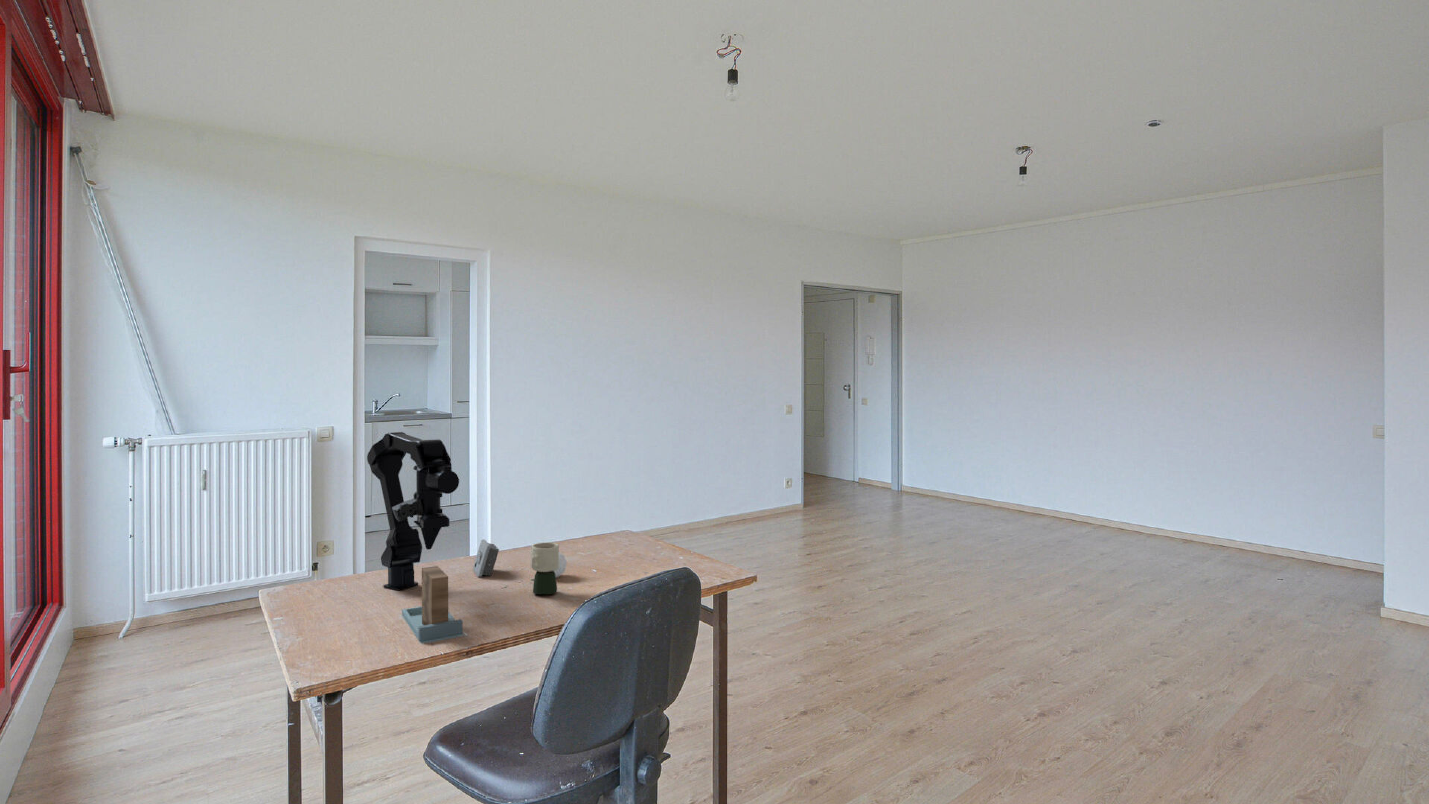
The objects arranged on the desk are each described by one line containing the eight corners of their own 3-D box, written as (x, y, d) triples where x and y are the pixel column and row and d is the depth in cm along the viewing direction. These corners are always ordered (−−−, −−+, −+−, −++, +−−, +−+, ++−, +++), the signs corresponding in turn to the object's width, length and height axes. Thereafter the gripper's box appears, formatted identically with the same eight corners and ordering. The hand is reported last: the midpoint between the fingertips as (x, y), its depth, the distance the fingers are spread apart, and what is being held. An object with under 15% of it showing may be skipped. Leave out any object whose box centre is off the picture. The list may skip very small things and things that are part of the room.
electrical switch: (472, 570, 215) (475, 538, 215) (490, 569, 218) (493, 538, 218) (478, 578, 207) (481, 545, 207) (496, 578, 209) (500, 545, 209)
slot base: (401, 617, 174) (401, 602, 173) (441, 611, 179) (441, 596, 178) (420, 646, 156) (420, 629, 156) (463, 638, 161) (463, 622, 161)
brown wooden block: (421, 623, 168) (421, 568, 168) (437, 621, 170) (437, 565, 169) (431, 637, 160) (431, 578, 159) (448, 634, 162) (448, 576, 161)
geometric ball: (548, 585, 210) (546, 559, 215) (572, 577, 209) (570, 551, 213) (534, 578, 204) (532, 551, 208) (559, 570, 203) (557, 543, 207)
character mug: (546, 586, 200) (546, 539, 199) (568, 589, 197) (568, 542, 197) (520, 597, 190) (521, 548, 189) (543, 601, 187) (543, 551, 187)
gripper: (388, 486, 190) (388, 545, 191) (401, 497, 174) (402, 561, 175) (432, 482, 196) (432, 540, 197) (449, 493, 180) (449, 555, 181)
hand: (428, 549), depth 187 cm, fingers closed
